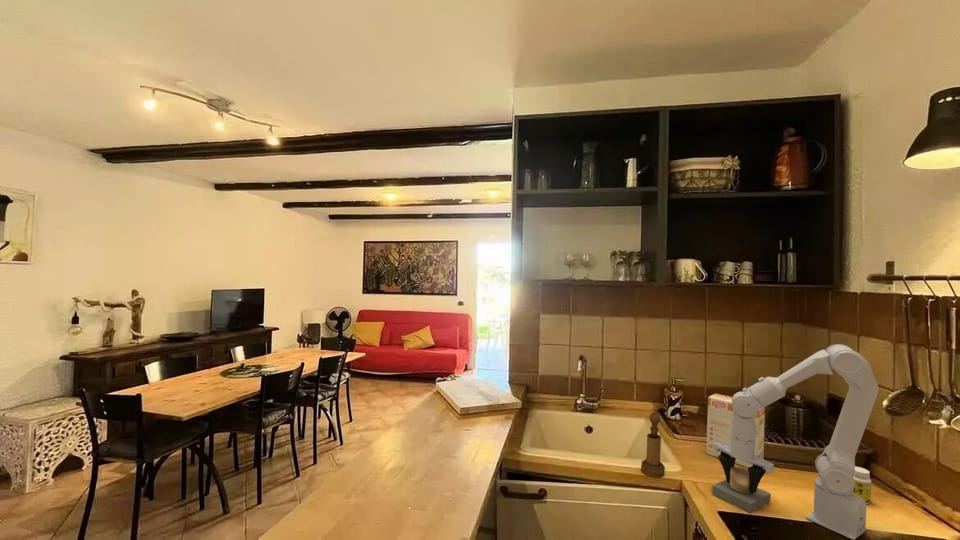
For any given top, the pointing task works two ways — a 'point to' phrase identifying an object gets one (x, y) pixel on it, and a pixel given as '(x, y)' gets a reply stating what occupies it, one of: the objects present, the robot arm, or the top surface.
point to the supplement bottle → (862, 483)
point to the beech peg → (740, 480)
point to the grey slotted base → (741, 497)
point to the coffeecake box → (729, 426)
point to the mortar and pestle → (653, 451)
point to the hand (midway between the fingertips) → (741, 486)
